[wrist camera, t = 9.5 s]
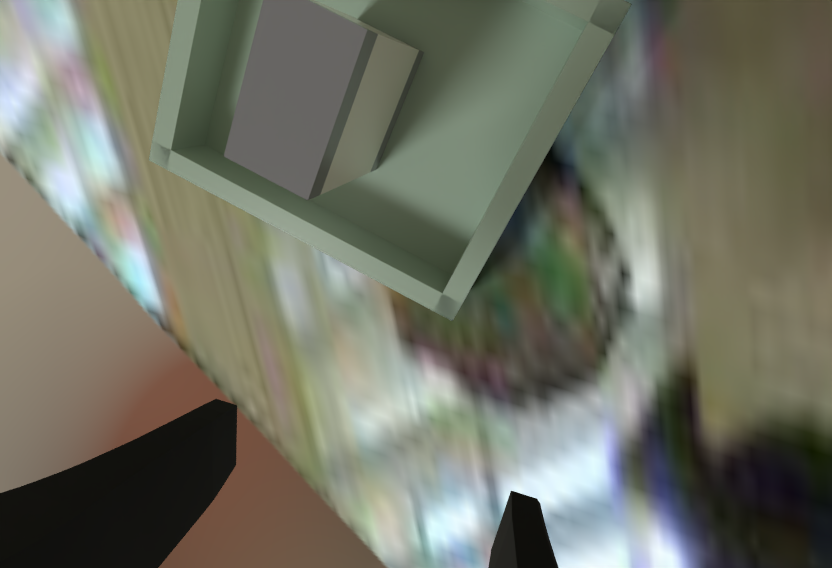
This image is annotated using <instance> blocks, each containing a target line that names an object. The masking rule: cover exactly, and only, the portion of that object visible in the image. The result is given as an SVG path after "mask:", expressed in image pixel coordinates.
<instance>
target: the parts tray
mask: <svg viewBox="0 0 832 568" xmlns="http://www.w3.org/2000/svg"><path fill="white" fill-rule="evenodd" d="M315 1H318V2H320V3H322V4H325V5H327V6H329V7H332V8H334V9H336V10H339V11H341V12H343V13H346V14H348V15H350V16H352V17H355V18H357V19H359V20H361V21H363V22H365V23H367V24H369V25H371V26H373V27H375V28H377V29H379V30H381V31H383V32H385V33H387V34H389V35H391V36H393V37H395V38H397V39H399V40H401V41H403V42H405V43H407V44H409V45H411V46H413V47H415V48H417V49H419V50H421V51H423V52H424V55H423V57H422V59H421V62H420V64H419V67H418V69H417V72H416V74H415V77H414V79H413V82H412V84H411V87H410V89H409V91H408V94H407V96H406V99H405V101H404V104H403V106H402V109H401V111H400V114H399V116H398V119H397V121H396V123H395V126H394V128H393V131H392V133H391V136H390V138H389V141H388V143H387V146H386V148H385V151H384V153H383V155H382V158H381V160H380V163H379V165H378V168H377V170H374V171H372V172H370V173H368V174H366V175H363V176H361V177H359V178H357V179H354V180H352V181H350V182H348V183H346V184H343V185H341V186H339V187H337V188H335V189H332V190H330V191H328V192H326V193H323V194H321V195H319V196H317V197H315V198H312V199H310V200H306V199H304V198H302V197H300V196H298V195H296V194H294V193H292V192H291V191H289V190H287V189H285V188H283V187H281V186H279V185H277V184H275V183H273V182H271V181H270V180H268V179H266V178H264V177H262V176H260V175H258V174H256V173H254V172H252V171H250V170H249V169H247V168H245V167H243V166H241V165H239V164H237V163H235V162H233V161H231V160H230V159H228V158H226V157H224V153H225V149H226V145H227V141H228V137H229V133H230V129H231V125H232V121H233V117H234V113H235V109H236V105H237V101H238V98H239V94H240V90H241V86H242V82H243V78H244V74H245V70H246V66H247V62H248V58H249V54H250V50H251V46H252V42H253V38H254V34H255V30H256V26H257V22H258V18H259V14H260V10H261V6H262V2H263V0H178V2H177V8H176V13H175V19H174V24H173V30H172V35H171V41H170V46H169V52H168V57H167V63H166V68H165V74H164V79H163V85H162V90H161V96H160V101H159V107H158V112H157V118H156V123H155V129H154V134H153V140H152V145H151V151H150V156H149V160H150V161H152V162H153V163H155V164H157V165H159V166H161V167H163V168H165V169H167V170H169V171H170V172H172V173H174V174H176V175H178V176H180V177H182V178H184V179H186V180H187V181H189V182H191V183H193V184H195V185H197V186H199V187H201V188H202V189H204V190H206V191H208V192H210V193H212V194H214V195H216V196H218V197H219V198H221V199H223V200H225V201H227V202H229V203H231V204H233V205H235V206H236V207H238V208H240V209H242V210H244V211H246V212H248V213H250V214H251V215H253V216H255V217H257V218H259V219H261V220H263V221H265V222H267V223H268V224H270V225H272V226H274V227H276V228H278V229H280V230H282V231H284V232H285V233H287V234H289V235H291V236H293V237H295V238H297V239H299V240H301V241H302V242H304V243H306V244H308V245H310V246H312V247H314V248H316V249H317V250H319V251H321V252H323V253H325V254H327V255H329V256H331V257H333V258H334V259H336V260H338V261H340V262H342V263H344V264H346V265H348V266H350V267H351V268H353V269H355V270H357V271H359V272H361V273H363V274H365V275H367V276H368V277H370V278H372V279H374V280H376V281H378V282H380V283H382V284H383V285H385V286H387V287H389V288H391V289H393V290H395V291H397V292H399V293H400V294H402V295H404V296H406V297H408V298H410V299H412V300H414V301H416V302H417V303H419V304H421V305H423V306H425V307H427V308H429V309H431V310H433V311H434V312H436V313H438V314H440V315H442V316H444V317H446V318H448V319H449V320H451V321H453V319H454V317H455V315H456V314H457V312H458V310H459V308H460V307H461V305H462V303H463V301H464V300H465V298H466V296H467V294H468V292H469V291H470V289H471V287H472V285H473V284H474V282H475V280H476V278H477V277H478V275H479V273H480V271H481V270H482V268H483V266H484V264H485V262H486V261H487V259H488V257H489V255H490V254H491V252H492V250H493V248H494V247H495V245H496V243H497V241H498V240H499V238H500V236H501V234H502V232H503V231H504V229H505V227H506V225H507V224H508V222H509V220H510V218H511V217H512V215H513V213H514V211H515V210H516V208H517V206H518V204H519V202H520V201H521V199H522V197H523V195H524V194H525V192H526V190H527V188H528V187H529V185H530V183H531V181H532V180H533V178H534V176H535V174H536V172H537V171H538V169H539V167H540V165H541V164H542V162H543V160H544V158H545V157H546V155H547V153H548V151H549V150H550V148H551V146H552V144H553V142H554V141H555V139H556V137H557V135H558V134H559V132H560V130H561V128H562V127H563V125H564V123H565V121H566V120H567V118H568V116H569V114H570V112H571V111H572V109H573V107H574V105H575V104H576V102H577V100H578V98H579V97H580V95H581V93H582V91H583V89H584V88H585V86H586V84H587V82H588V81H589V79H590V77H591V75H592V74H593V72H594V70H595V68H596V67H597V65H598V63H599V61H600V59H601V58H602V56H603V54H604V52H605V51H606V49H607V47H608V45H609V44H610V42H611V40H612V38H613V37H614V35H615V33H616V31H617V29H618V28H619V26H620V24H621V22H622V21H623V19H624V17H625V15H626V14H627V12H628V10H629V8H630V7H631V5H632V4H630V3H628V2H626V1H624V0H315Z"/></svg>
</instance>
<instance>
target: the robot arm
mask: <svg viewBox="0 0 832 568" xmlns="http://www.w3.org/2000/svg"><path fill="white" fill-rule="evenodd" d="M236 434H237V405H234V404H231V403H228V402H225V401H221V400H218V399H215V400H213V401H211V402H209V403H207V404H204V405H203V406H200V407H199V408H197V409H194V410H193V411H191V412H189V413H187V414H185V415H183V416H181V417H179V418H177V419H175V420H173V421H171V422H169V423H167V424H165V425H163V426H161V427H159V428H157V429H155V430H153V431H151V432H149V433H147V434H145V435H143V436H141V437H139V438H137V439H135V440H133V441H131V442H128V443H126V444H124V445H122V446H120V447H118V448H115V449H113V450H111V451H108V452H106V453H104V454H102V455H99V456H97V457H95V458H93V459H91V460H88V461H86V462H84V463H81V464H79V465H77V466H74V467H72V468H70V469H67V470H64V471H62V472H59V473H57V474H54V475H51V476H49V477H46V478H43V479H41V480H38V481H36V482H33V483H30V484H27V485H24V486H21V487H19V488H15V489H12V490H9V491H6V492H3V493H0V568H158V567H159V566H160V565H161V564H162V562H163V561H164V560H165V559H166V558H167V556H168V555H169V554H170V552H172V550H173V549H174V548H175V547H176V546H177V544H178V543H179V542H180V541H181V539H182V538H183V537H184V536H185V535H186V533H187V532H188V531H189V530H190V528H191V527H192V526H193V525H194V523H195V522H196V521H197V520H198V519H199V517H200V516H201V515H202V514H203V513H204V511H205V510H206V509H207V507H208V506H209V505H210V504H211V503H212V501H213V500H214V498H215V497H216V495H217V494H218V492H219V491H220V489H221V488H222V486H223V485H224V483H225V482H226V480H227V478H228V477H229V475H230V473H231V472H232V470H233V469H234V467H235V465H236ZM489 568H558V565H557V562H556V559H555V556H554V553H553V549H552V546H551V543H550V540H549V536H548V533H547V529H546V526H545V522H544V518H543V514H542V510H541V506H540V503H539V501H538V500H537V499H536V498H533V497H530V496H526V495H523V494H520V493H517V492H513V491H511V493H510V496H509V499H508V502H507V505H506V508H505V511H504V514H503V517H502V520H501V523H500V526H499V529H498V531H497V534H496V537H495V540H494V543H493V546H492V549H491V556H490V562H489Z"/></svg>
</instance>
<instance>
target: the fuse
mask: <svg viewBox="0 0 832 568" xmlns="http://www.w3.org/2000/svg"><path fill="white" fill-rule="evenodd" d="M423 55H424V52H423V51H421V50H419V49H417V48H415V47H413V46H411V45H409V44H407V43H405V42H403V41H401V40H399V39H397V38H395V37H393V36H391V35H389V34H387V33H385V32H383V31H381V30H379V29H377V28H375V27H373V26H371V25H369V24H367V23H365V22H363V21H361V20H359V19H357V18H355V17H352V16H350V15H348V14H346V13H343V12H341V11H339V10H336V9H334V8H332V7H329V6H327V5H325V4H322V3H320V2H318V1H315V0H263V2H262V6H261V10H260V14H259V18H258V22H257V26H256V30H255V34H254V38H253V42H252V46H251V50H250V54H249V58H248V62H247V66H246V70H245V74H244V78H243V82H242V86H241V90H240V94H239V98H238V101H237V105H236V109H235V113H234V117H233V121H232V125H231V129H230V133H229V137H228V141H227V145H226V149H225V153H224V157H226V158H228V159H230V160H231V161H233V162H235V163H237V164H239V165H241V166H243V167H245V168H247V169H249V170H250V171H252V172H254V173H256V174H258V175H260V176H262V177H264V178H266V179H268V180H270V181H271V182H273V183H275V184H277V185H279V186H281V187H283V188H285V189H287V190H289V191H291V192H292V193H294V194H296V195H298V196H300V197H302V198H304V199H306V200H310V199H312V198H315V197H317V196H319V195H321V194H323V193H326V192H328V191H330V190H332V189H335V188H337V187H339V186H341V185H343V184H346V183H348V182H350V181H352V180H354V179H357V178H359V177H361V176H363V175H366V174H368V173H370V172H372V171H374V170H377V168H378V165H379V163H380V160H381V158H382V155H383V153H384V151H385V148H386V146H387V143H388V141H389V138H390V136H391V133H392V131H393V128H394V126H395V123H396V121H397V119H398V116H399V114H400V111H401V109H402V106H403V104H404V101H405V99H406V96H407V94H408V91H409V89H410V87H411V84H412V82H413V79H414V77H415V74H416V72H417V69H418V67H419V64H420V62H421V59H422V57H423Z"/></svg>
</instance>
